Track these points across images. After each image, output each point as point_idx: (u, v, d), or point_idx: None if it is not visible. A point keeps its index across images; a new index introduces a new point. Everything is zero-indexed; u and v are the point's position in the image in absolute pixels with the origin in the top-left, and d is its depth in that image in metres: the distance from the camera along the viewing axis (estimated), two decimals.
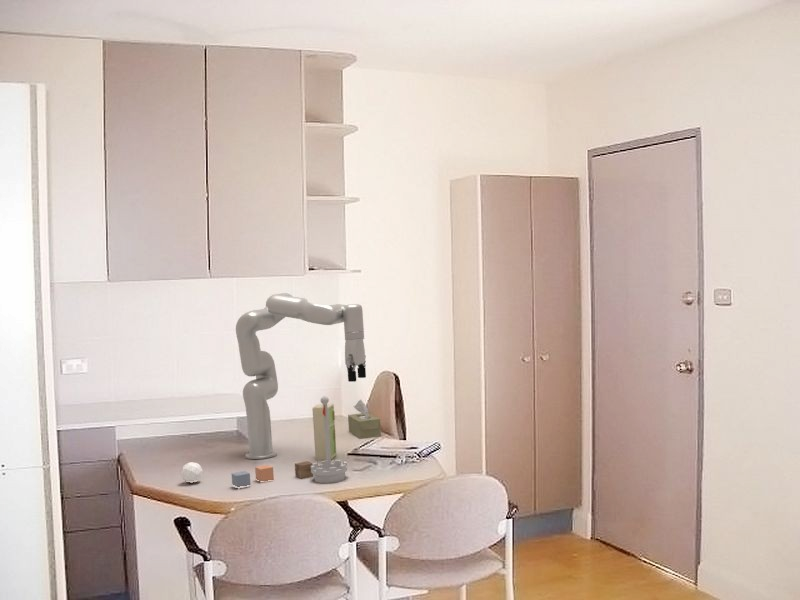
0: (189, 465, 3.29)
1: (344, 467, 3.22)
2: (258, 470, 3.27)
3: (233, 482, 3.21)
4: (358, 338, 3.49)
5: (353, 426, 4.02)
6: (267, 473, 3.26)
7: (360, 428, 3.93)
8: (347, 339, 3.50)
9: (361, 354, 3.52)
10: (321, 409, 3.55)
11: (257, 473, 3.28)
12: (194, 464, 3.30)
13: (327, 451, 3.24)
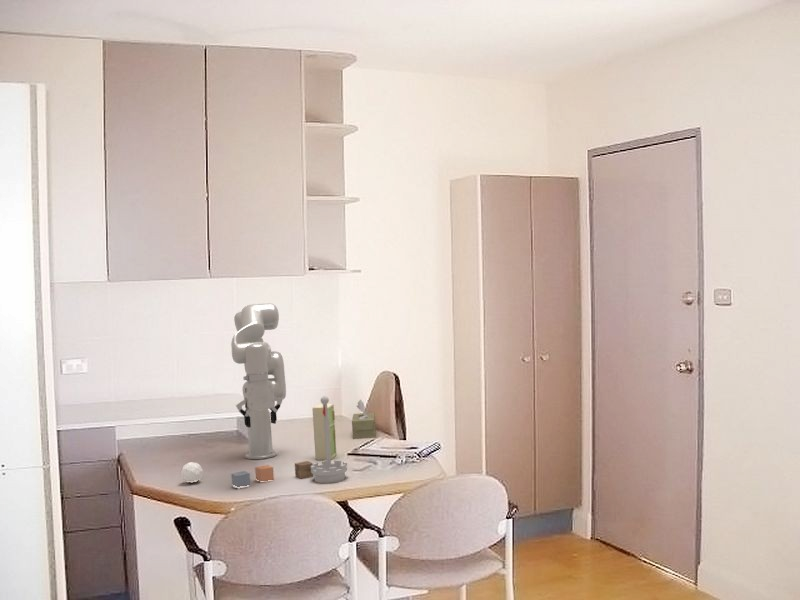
0: (189, 465, 3.29)
1: (344, 467, 3.22)
2: (258, 470, 3.27)
3: (233, 482, 3.21)
4: None
5: None
6: (267, 473, 3.26)
7: (353, 428, 3.94)
8: (268, 379, 3.27)
9: None
10: (321, 409, 3.55)
11: (257, 473, 3.28)
12: (194, 464, 3.30)
13: (327, 451, 3.24)
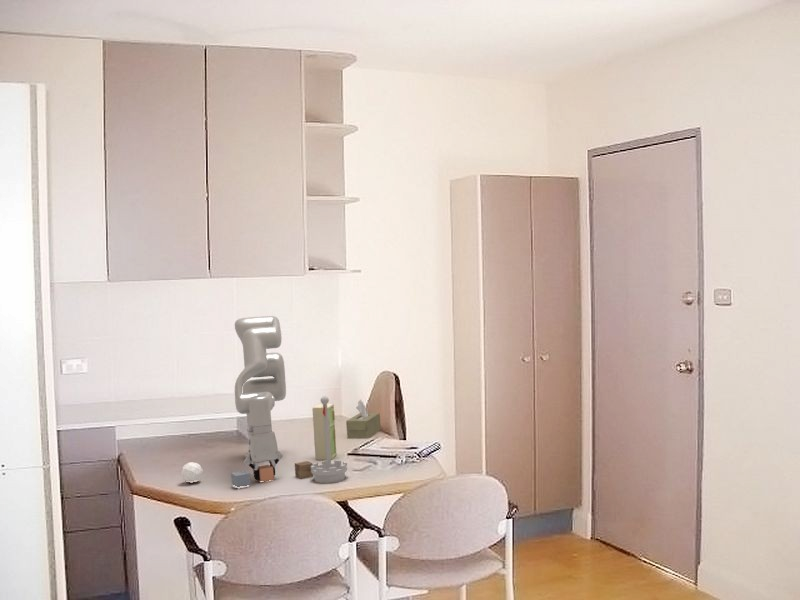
0: (189, 465, 3.29)
1: (344, 467, 3.22)
2: None
3: (233, 482, 3.21)
4: None
5: None
6: (267, 473, 3.26)
7: (347, 428, 3.95)
8: (271, 431, 3.28)
9: None
10: (321, 409, 3.55)
11: None
12: (194, 464, 3.30)
13: (327, 451, 3.24)
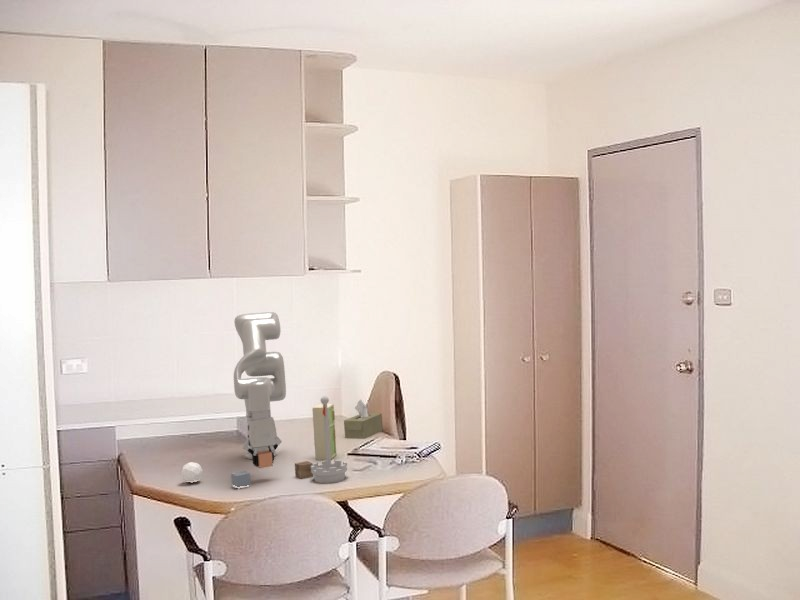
0: (189, 465, 3.29)
1: (344, 467, 3.22)
2: None
3: (233, 482, 3.21)
4: None
5: None
6: (266, 458, 3.27)
7: (345, 427, 3.96)
8: (270, 416, 3.28)
9: None
10: (321, 409, 3.55)
11: None
12: (194, 464, 3.30)
13: (327, 451, 3.24)
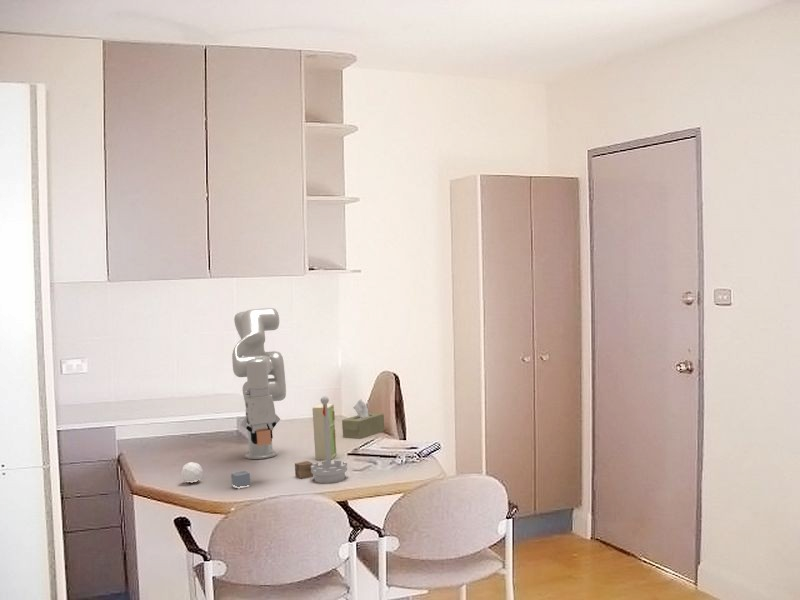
0: (189, 465, 3.29)
1: (344, 467, 3.22)
2: (255, 432, 3.26)
3: (233, 482, 3.21)
4: None
5: None
6: (265, 436, 3.26)
7: (343, 427, 3.98)
8: (269, 394, 3.27)
9: None
10: (321, 409, 3.55)
11: None
12: (194, 464, 3.30)
13: (327, 451, 3.24)
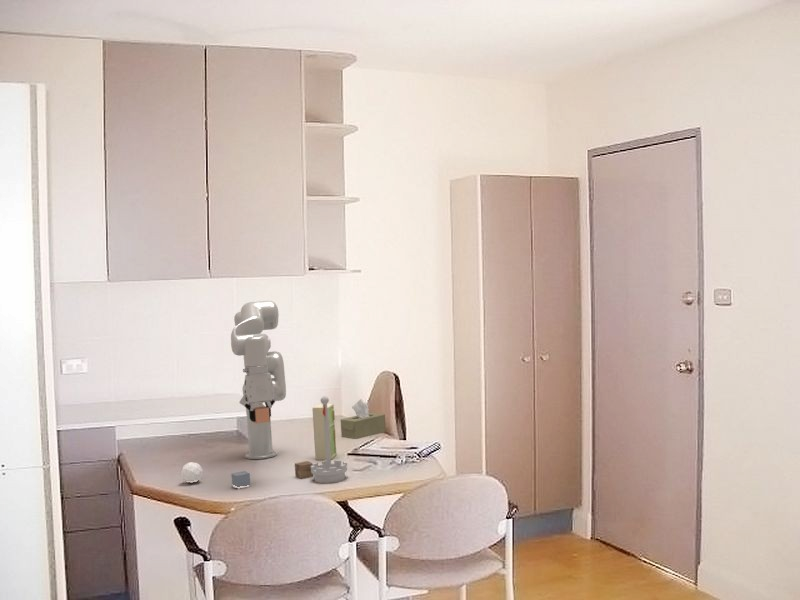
0: (189, 465, 3.29)
1: (344, 467, 3.22)
2: None
3: (233, 482, 3.21)
4: None
5: None
6: (263, 413, 3.25)
7: (341, 426, 4.00)
8: (267, 372, 3.27)
9: None
10: (321, 409, 3.55)
11: None
12: (194, 464, 3.30)
13: (327, 451, 3.24)
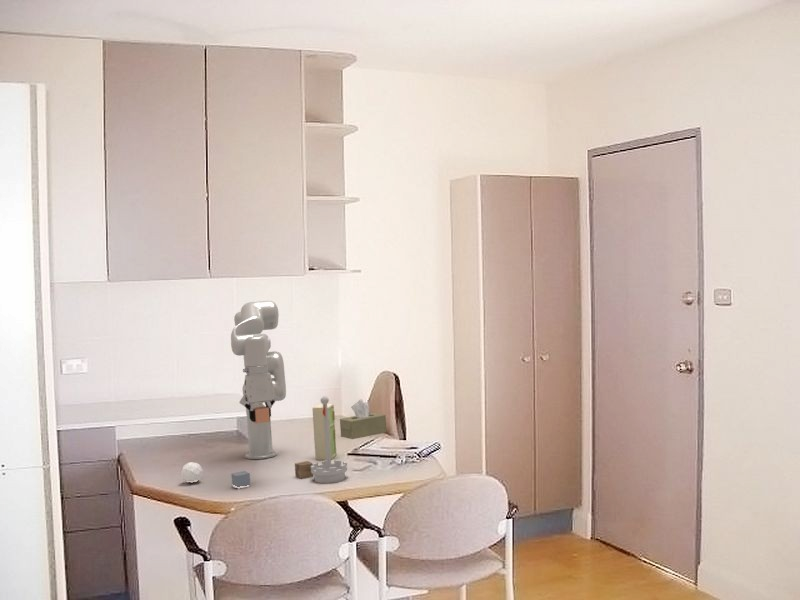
0: (189, 465, 3.29)
1: (344, 467, 3.22)
2: None
3: (233, 482, 3.21)
4: None
5: None
6: (263, 413, 3.25)
7: (340, 426, 4.01)
8: (267, 372, 3.27)
9: None
10: (321, 409, 3.55)
11: None
12: (194, 464, 3.30)
13: (327, 451, 3.24)
